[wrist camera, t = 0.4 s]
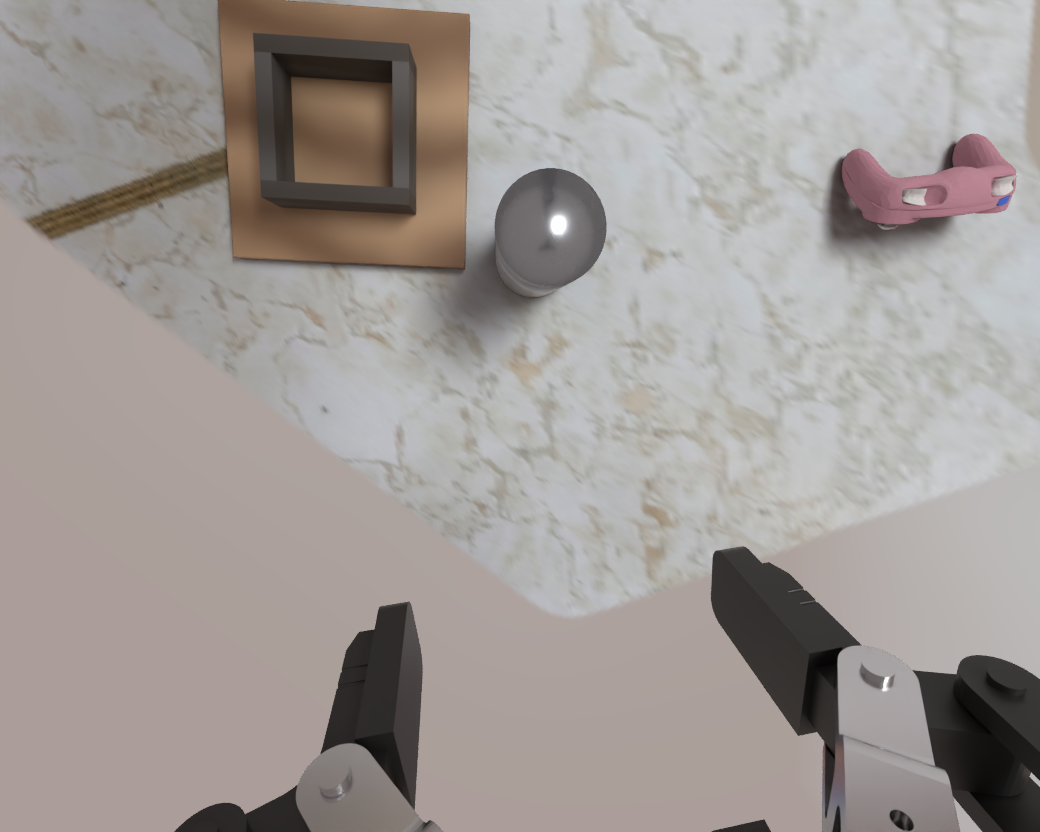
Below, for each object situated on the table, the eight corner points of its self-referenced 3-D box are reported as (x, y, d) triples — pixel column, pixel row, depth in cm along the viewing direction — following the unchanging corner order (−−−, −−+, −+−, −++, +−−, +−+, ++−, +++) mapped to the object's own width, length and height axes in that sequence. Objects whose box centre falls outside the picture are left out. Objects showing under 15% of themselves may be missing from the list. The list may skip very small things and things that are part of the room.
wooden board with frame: (226, 5, 33) (189, -38, 29) (470, 22, 34) (466, -17, 30) (240, 258, 36) (209, 250, 32) (465, 269, 37) (461, 262, 33)
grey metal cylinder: (496, 215, 36) (496, 164, 24) (573, 220, 36) (610, 171, 25) (494, 295, 37) (492, 283, 25) (569, 298, 38) (602, 288, 26)
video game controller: (822, 213, 39) (882, 243, 33) (839, 147, 36) (909, 168, 30) (946, 196, 39) (1028, 224, 33) (973, 129, 36) (1067, 147, 31)
